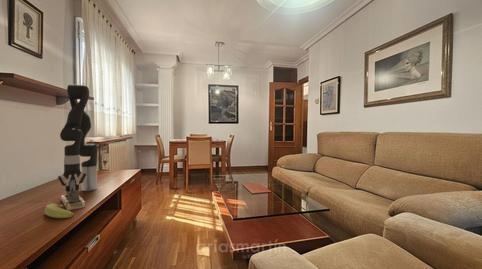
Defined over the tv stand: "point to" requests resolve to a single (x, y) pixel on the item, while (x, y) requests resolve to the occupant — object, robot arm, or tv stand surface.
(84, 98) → the robot arm
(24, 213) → the tv stand surface
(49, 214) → the banana
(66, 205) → the pin board
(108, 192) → the tv stand surface
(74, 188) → the peg
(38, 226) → the tv stand surface
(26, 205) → the tv stand surface
